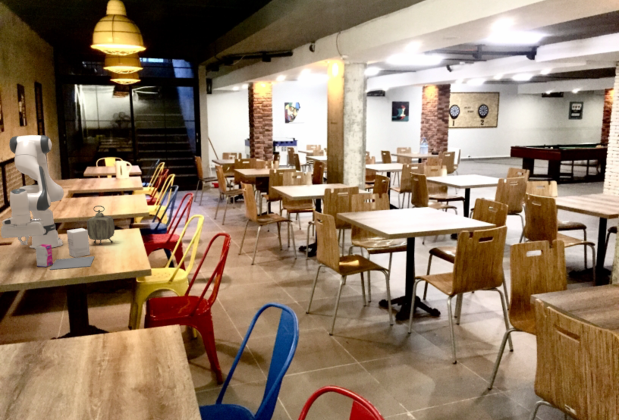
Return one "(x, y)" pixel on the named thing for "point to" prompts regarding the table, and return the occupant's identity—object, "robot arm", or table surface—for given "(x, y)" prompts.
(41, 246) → the supplement box
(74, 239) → the supplement box
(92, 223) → the tabletop clock
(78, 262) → the mat
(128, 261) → the table surface
